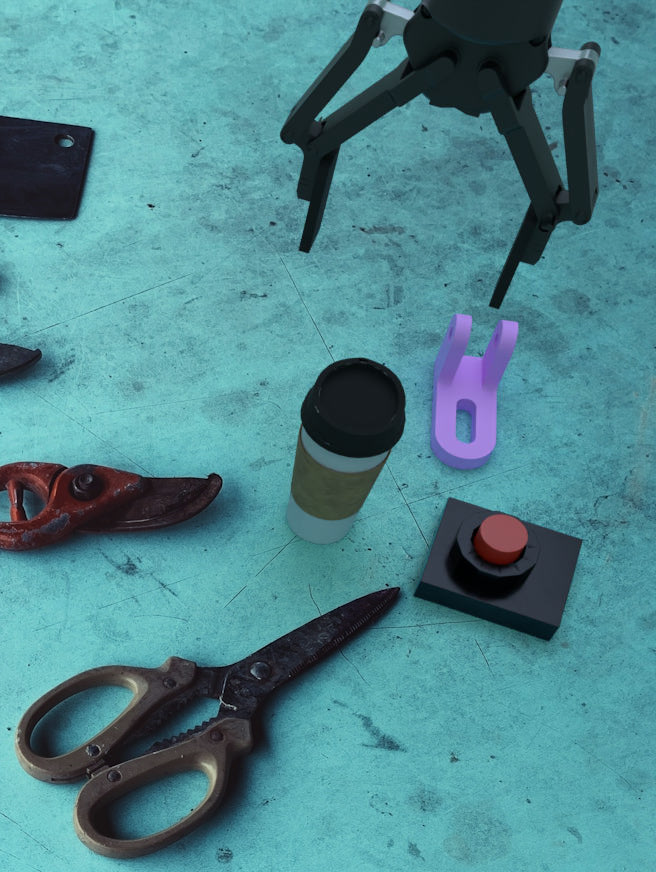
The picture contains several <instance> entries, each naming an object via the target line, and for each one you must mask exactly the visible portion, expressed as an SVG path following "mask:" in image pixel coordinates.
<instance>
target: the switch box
mask: <svg viewBox="0 0 656 872" xmlns="http://www.w3.org/2000/svg"><path fill="white" fill-rule="evenodd" d="M497 514H502V515H508V516H511V517H513V518H515V519H517V520H519V521H520V522H521V523H522V524H523V525H524V526H525V528H526V530H527V533H528V541H527V543H526V545H525V547H524V549H523V550H522V552H521V554H520V555H519V557H518V558H517V559H516V560H515V561H514V562H512V563H510V564H506V565H497V564H494V563H491V562H488V561H485V560H484V559H483V558H482V557H481V556H480V555H478V554H477V552H476V550H475V548H474V538H475V535H476V534H477V532H478V530H479V528H480V526H481V524H482V522H483V521H484V520H485V519H486V518H488V517H490V516H492V515H497ZM583 543H584V539H582V538H579V537H576V536H573V535H570V534H567V533H564V532H560V531H557V530H556V529H555V530H554V529H551V528H548V527H546V526H542V525H539V524H536V523H533V522H530V521H526V520H523V519H521V518H520V517H518V516H515V515H513V514H511V513H506V512H504V511H500V510H492V509H489V508H486V507H482V506H479V505H477V504H473V503H469V502H467V501H464V500H460V499H458V498H454V497H451V496H449V497H448V498H447V500H446V502H445V504H444V507H443V509H442V511H441V513H440V516H439V519H438V522H437V525H436V527H435V531H434V533H433V536H432V539H431V542H430V546H429V548H428V551H427V553H426V557H425V560H424V563H423V564H422V565H423V566H422V569H421V571H420V575H419V577H418V580H417V584H416V586H415V589H414V591H413V595H412V596H413V597H415V598H417V599H421V600H423V601H426V602H430V603H431V604H435V605H439V606H441V607H445V608H447V609H451V610H454V611H456V612H459V613H462V614H466V615H469V616H472V617H475V618H476V619H477V618H478V619H481V620H483V621H486V622H489V623H492V624H496V625H499V626H502V627H504V628H507V629H510V630H513V631H517V632H519V633H523V634H525V635H529V636H531V637H534V638H537V639H541V640H544V641H546V642H550V641H551V640H552V639H553V637H554V636H555V635H556V633H557V632H558V630H559V628H560V626H561V623H562V619H563V616H564V612H565V608H566V605H567V601H568V597H569V594H570V589H571V587H572V582H573V579H574V575H575V572H576V569H577V564H578V560H579V557H580V552H581V550H582V545H583Z"/></svg>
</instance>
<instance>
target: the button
mask: <svg viewBox="0 0 656 872" xmlns="http://www.w3.org/2000/svg"><path fill="white" fill-rule="evenodd" d="M527 541H528V533H527V530H526V528H525V526H524V525H523V524H522V523H521V522H520V521H519V520H517V519H515V518H513V517H511V516H508V515H502V514H497V515H492V516H490V517H488V518H486V519H485V520H484V521H483V522H482V524H481V526H480V528H479V530H478V532H477V534H476V535H475V538H474V548H475V550H476V552H477V554H478V555H480V556H481V557H482V558H483V559H484V560H485V561H488V562H491V563H494V564H497V565H506V564H510V563H512V562H514V561H515V560H516V559H517V558H518V557H519V555H520V554H521V552H522V550H523V549H524V547H525V545H526V543H527Z"/></svg>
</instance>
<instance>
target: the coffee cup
mask: <svg viewBox="0 0 656 872" xmlns="http://www.w3.org/2000/svg"><path fill="white" fill-rule="evenodd" d="M406 405H407V398H406V393H405V388H404V386H403V384H402V381H401V380H400V378H399V377H398V376H397V374H396V373H395V372H393V370H391V368H389V367H387V366H386V365H384V364H382V363H380V362H378V361H375V360H373V359H370V358H367V357H363V356H362V357H360V356H359V357H348V358H343V359H340V360H339V359H338V360H336V361H334V362H332V363H330V364H328V365H327V366H326V367H324V369H322V371H321V372H320V373H319V374H318V376H317V378H316V379H315V382H314V384H313V385H312V386H311V387H310V389H309V390H308V391H307V393H306V395H305V396H304V399H303V400H302V403H301V407H300V421H301V423H300V426H299V429H298V434H297V442H296V448H295V455H294V461H293V468H292V476H291V482H290V490H289V496H288V501H287V506H286V517H285V518H286V521H287V524H288V526H289V528H290V530H291V531H292V532H293V533H294V534H295V535H296V536H297V537H298V538H300V539H301V540H303V541H305V542H308V543H310V544H311V543H312V544H315V545H330V544H334V543H336V542H339V541H340V540H341V541H342V539H343V538H345V537H346V536H347V535H348V533H350V531H351V529H352V526H353V525H354V523H355V521H356V519H357V517H358V514H359V513H360V511H361V509H362V508H363V506H364V504H365V502H366V501H367V498H368V497H369V494H370V493H371V491H372V489H373V487H374V485H375V484H376V482H377V480H378V478H379V476H380V474H381V472H382V470H383V469H384V467H385V465H386V464H387V461H388V459H389V458H390V455H391V453H392V451H393V448H394V447H396V445H398V443H399V442H400V440H401V439H402V437H403V435H404V433H405V427H406V420H407V418H406Z"/></svg>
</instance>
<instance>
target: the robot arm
mask: <svg viewBox="0 0 656 872" xmlns="http://www.w3.org/2000/svg"><path fill="white" fill-rule="evenodd" d="M391 1H392V0H368V1H367V2H366V5H365V7H364V8H363V11H362V12H361V15H360V16H359V19H358V22H357V25H356V27H355V29H354V31H353V32H352V34H351V35H350V36H349V38H348V39H347V40H346V41H345V42H344V44H343V45H342V46H341V47H340V49H339V50H338V51H337V52H336V54H335V55H334V56H333V57H332V58H331V60H330V61H329V62H328V64H327V65H326V66H325V67H324V68H323V69H322V71H321V72H320V73H319V74H318V76H317V77H316V78H315V79H314V81H313V82H312V83H311V85H309V87H308V88H307V89H306V91H305V92H303V94H302V95H301V97H300V98H299V99H298V100H297V102H296V103H295V104H293V105H294V106H293V107H292V108H291V110H290V112H289V114H288V116H287V118H286V120H285V122H284V123H283V125H282V128H281V129H280V131H279V138H280V140H281V142H282V143H284V144H285V145H295V146H297V147H298V148H299V149H300V150H301V152H302V156H303V157H302V158H303V160H302V163H301V168H300V173H299V178H298V182H297V185H296V197H297V199H299V200H303V201H306V202H309V204H308V208H307V213H306V216H305V220H304V225H303V228H302V234H301V237H300V242H299V246H298V250H297V251H298V252H302V253H305V254H308V255H309V254H310V252H311V250H312V247H313V245H314V243H315V241H316V239H317V237H318V234H319V232H320V230H321V226H322V222H323V218H324V214H325V210H326V206H327V202H328V198H329V195H330V190H331V186H332V182H333V179H334V174H335V170H336V166H337V163H338V158H339V156H340V155H339V154H340V150H341V147H342V145H343V144H345V143H346V142H347V141H348V140H350V139H351V138H353V137H354V136H356V135H357V134H359V133H361V132H362V131H363V130H365V129H366V128H368V127H369V126H371V125H372V124H373V123H375V122H377V121H378V120H379V119H381V118H383V117H384V116H385V115H387V114H388V113H390V112H391V111H393V110H394V109H396V108H402V107H403V106H405V105H407V104H408V103H409V102H411V101H412V100H414V99H416V98H417V97H419V96H420V95H423V96H424V97H425V99H427V100H428V101H429V102H428V105H429V106H433V107H436V108H439V109H456V110H457V111H459V112H461V113H463V114H464V115H466V116H469V117H474V118H478V119H479V118H480V116H481V115H486V114H489V113H490V115H491V117H492V120H493V122H494V125H495V127H496V129H497V132H498V134H499V135H500V136H503V137H504V139H505V142H506V144H507V147H508V149H509V151H510V155H511V157H512V159H513V161H514V164H515V166H516V168H517V171H518V173H519V176H520V178H521V181H522V183H523V186H524V188H525V190H526V191H525V192H526V193H527V196H528V199H529V200H530V202H529V205H528V207H527V210H526V212H525V215H524V217H523V219H522V222H521V223H520V226H519V228H518V231H517V233H516V236H515V238H514V240H513V243H512V246H511V247H510V250H509V252H508V255H507V257H506V259H505V262H504V264H503V267H502V269H501V271H500V274H499V275H498V279H497V281H496V284H495V287H494V289H493V292H492V295H491V298H490V300H489V303H488V307H489V308H492V309H495V310H500V308H501V306H502V304H503V302H504V299H505V297H506V294H507V292H508V290H509V288H510V286H511V284H512V281H513V280H514V279H513V278H514V276H515V274H516V272H517V269H518V267H519V265H520V263H524V264H527V265H530V266H535V265H536V264H537V263H538V262H539V261H540V260H541V257H542V256H543V253H544V251H545V249H546V247H547V245H548V242H549V240H550V238H551V236H552V233H553V232H554V231H555V230H556V227H557V225H559V224H562V223H563V222H572V223H573V224H574V225H575V226H585V225H587V224H588V223H589V222H590V221H591V219H592V217H593V214H594V210H595V207H596V204H597V201H598V198H599V193H600V187H599V171H598V157H597V143H596V142H597V141H596V127H595V126H596V124H595V112H594V111H595V110H594V97H593V95H594V94H593V80H594V77H595V74H596V71H597V68H598V64H599V61H600V58H601V54H602V48H601V45H600V44H599V43H598V42H596V41H587V42H585V43H583V44H582V45H581V46H580V48H579V49H573V48H566V47H559V46H553V42H552V31H553V29H554V26H555V23H556V21H557V19H558V15H559V14H560V10H561V8H562V5H563V2H564V0H421V1H420V2H419V4H418V5H417V6H416V7H415V8H414V9H413V10H412V9H409V8H406V7H403V6H401V5H399V4H396V3H394V2H391ZM396 36H400V37H402V42H403V45H404V48H405V51H406V54H407V56H406V57H405V58H404V59H403V60H402V61H400V63H399V64H398V65H397V66H396V67H395V68H394V69H392V70H391V71H390V72H388V73H386V74H385V75H384V76H382V77H381V78H380V79H378V80H376V81H375V82H374V83H373V84H371V85H370V86H369V87H367V88H365V89H364V90H363V91H361V92H360V93H358V94H357V95H356V96H354V97H353V98H351V99H349V100H348V101H347V102H346V103H344V104H343V105H341V106H340V107H339V108H337V109H336V110H335V111H332V113H330V114H329V115H328V116H326V117H323V116H322V115H321V116H320V117H319V119H318V120H316V119H317V117H318V116H319V115H320V114H321V112H322V111H323V110H324V109H325V108H326V107H327V106H328V105H329V103H330V102H331V101H332V100H333V98H334V97H335V96H336V95H337V94H338V92H339V91H340V90H341V89H342V88H343V86H344V85H345V84H346V83H347V81H349V79H350V78H351V76H352V75H353V74H354V73H355V72H356V71H357V70H358V68H359V67H360V66H361V65H362V63H363V62H364V61H365V60H366V57H367V56H368V55H369V52H370V50H371V48H372V47H373V48H374V49H379V48H380V47H383V46H385V45H386V44H388V42H389V41H390V39H392V38H393V37H396ZM544 74H547V75H549V76H550V77H551V78H552V80H553V89H554V91H555V92H556V95H557V96H558V97H563V101H562V107H561V119H562V121H561V122H562V132H563V144H564V155H565V166H566V169H565V170H566V179H567V189H566V186H565V185H564V182H563V180H562V177H561V174H560V172H559V168H558V167H557V164H556V161H555V159H554V156H553V153H552V151H551V148H550V146H549V143H548V141H547V137H546V136H545V132H544V130H543V128H542V124H541V123H540V120H539V117H538V115H537V112H536V109H535V107H534V104H533V94H532V89H531V87H530V86H531V85H532V84H533V83H535V82H536V81H537V80H539V79H540V78H541V77H542V76H543V75H544Z"/></svg>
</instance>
